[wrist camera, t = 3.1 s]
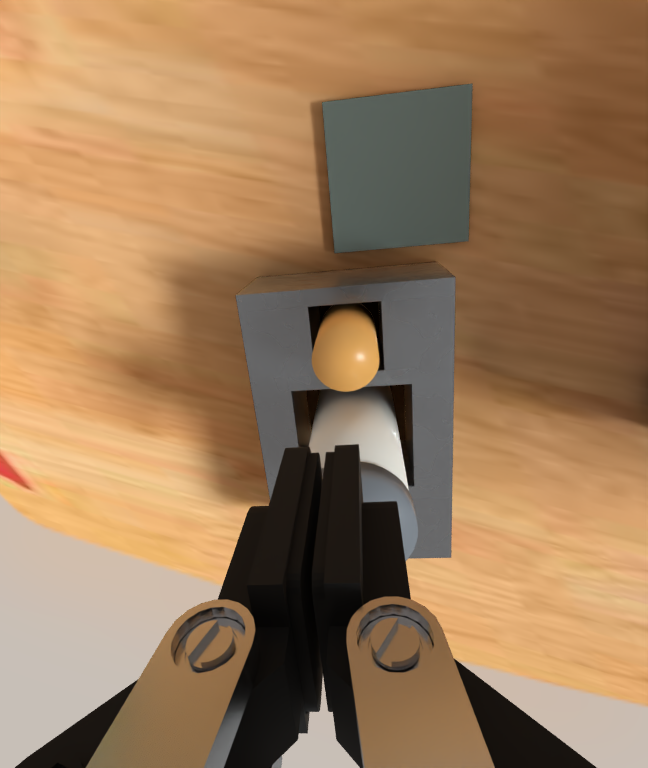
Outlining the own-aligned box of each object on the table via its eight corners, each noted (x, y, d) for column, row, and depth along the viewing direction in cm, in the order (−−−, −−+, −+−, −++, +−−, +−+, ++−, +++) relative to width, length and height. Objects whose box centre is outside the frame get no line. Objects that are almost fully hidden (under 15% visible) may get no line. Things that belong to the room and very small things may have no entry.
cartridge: (313, 366, 27) (283, 482, 16) (392, 361, 27) (416, 476, 16) (320, 435, 29) (298, 581, 18) (395, 432, 29) (418, 579, 18)
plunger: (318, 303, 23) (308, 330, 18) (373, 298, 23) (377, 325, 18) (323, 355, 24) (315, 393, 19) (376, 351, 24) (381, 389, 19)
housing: (257, 277, 26) (235, 295, 21) (437, 261, 25) (455, 277, 20) (291, 507, 32) (280, 561, 27) (437, 503, 31) (451, 557, 26)
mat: (322, 104, 22) (322, 102, 22) (469, 86, 21) (472, 83, 21) (335, 251, 25) (334, 253, 24) (465, 240, 24) (468, 241, 24)
